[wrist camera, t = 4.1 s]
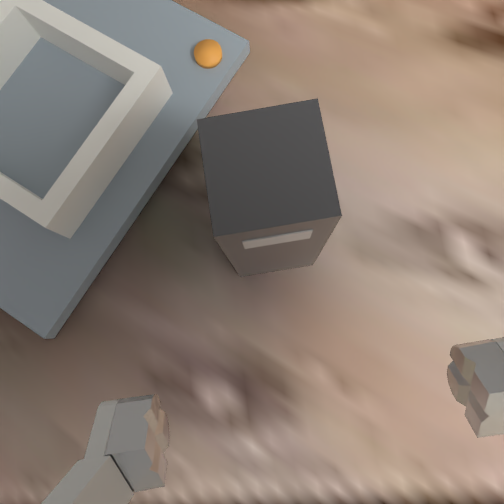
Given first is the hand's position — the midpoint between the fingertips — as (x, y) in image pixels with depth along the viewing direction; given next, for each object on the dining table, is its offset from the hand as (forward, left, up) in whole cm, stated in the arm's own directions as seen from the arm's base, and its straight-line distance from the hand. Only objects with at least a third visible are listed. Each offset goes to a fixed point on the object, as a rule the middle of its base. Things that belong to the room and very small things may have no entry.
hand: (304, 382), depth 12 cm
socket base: (-4, -18, -10) cm, 21 cm away
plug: (-5, -4, -10) cm, 12 cm away
